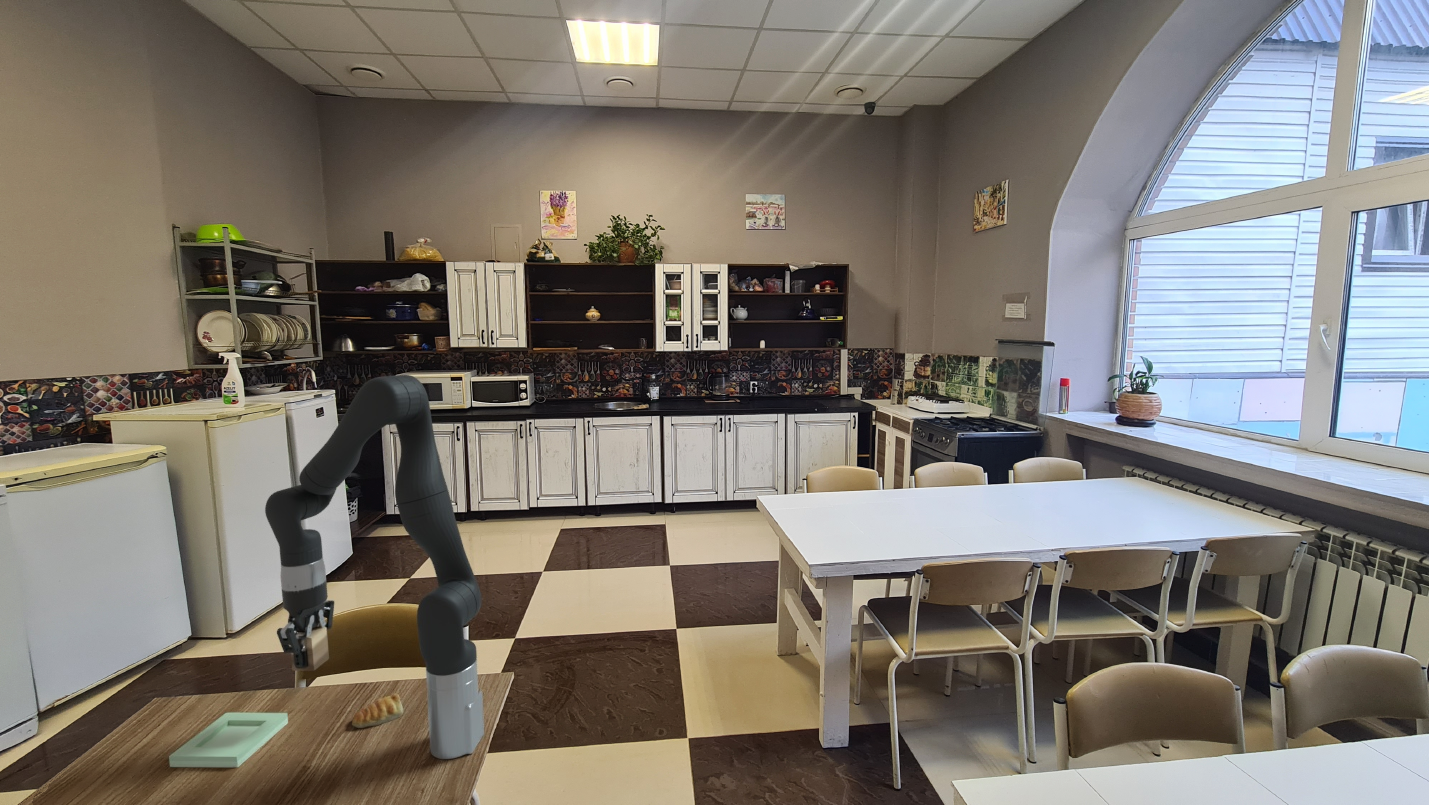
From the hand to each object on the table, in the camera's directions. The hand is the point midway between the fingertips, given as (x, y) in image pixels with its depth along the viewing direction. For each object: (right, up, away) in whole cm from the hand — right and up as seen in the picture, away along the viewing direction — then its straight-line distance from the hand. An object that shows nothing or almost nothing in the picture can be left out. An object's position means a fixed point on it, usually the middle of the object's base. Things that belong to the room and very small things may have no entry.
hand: (311, 660), depth 121 cm
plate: (-13, -15, -4) cm, 20 cm away
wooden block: (0, -1, 0) cm, 1 cm away
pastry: (+12, -15, +5) cm, 20 cm away
